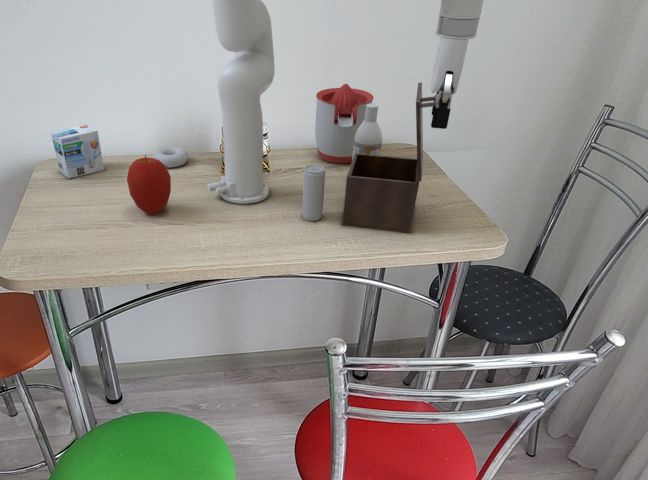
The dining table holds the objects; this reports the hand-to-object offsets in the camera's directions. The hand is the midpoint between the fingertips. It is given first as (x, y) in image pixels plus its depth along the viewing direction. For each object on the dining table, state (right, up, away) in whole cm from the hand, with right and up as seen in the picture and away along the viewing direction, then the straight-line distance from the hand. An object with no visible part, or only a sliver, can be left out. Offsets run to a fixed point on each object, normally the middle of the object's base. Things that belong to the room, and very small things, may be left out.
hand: (438, 120), depth 119 cm
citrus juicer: (-15, +7, +44) cm, 47 cm away
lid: (-4, -1, +2) cm, 5 cm away
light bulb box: (-87, +1, +36) cm, 95 cm away
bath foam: (-11, -4, +31) cm, 33 cm away
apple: (-64, -15, +18) cm, 68 cm away
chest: (-10, -16, +16) cm, 25 cm away
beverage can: (-26, -17, +15) cm, 34 cm away
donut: (-64, +5, +41) cm, 76 cm away
